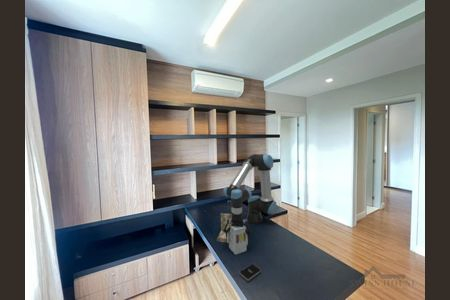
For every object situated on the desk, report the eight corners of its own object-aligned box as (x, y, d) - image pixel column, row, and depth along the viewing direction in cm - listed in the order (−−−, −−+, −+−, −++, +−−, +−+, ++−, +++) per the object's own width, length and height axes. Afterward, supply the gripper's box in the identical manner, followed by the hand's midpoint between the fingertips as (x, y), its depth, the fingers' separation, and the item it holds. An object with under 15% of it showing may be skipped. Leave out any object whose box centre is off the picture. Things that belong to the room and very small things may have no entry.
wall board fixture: (242, 232, 140) (242, 214, 139) (240, 243, 124) (239, 223, 124) (221, 230, 143) (221, 213, 143) (216, 241, 128) (216, 221, 127)
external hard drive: (239, 275, 94) (239, 272, 94) (252, 266, 101) (252, 263, 101) (247, 283, 89) (247, 279, 88) (261, 273, 95) (261, 269, 95)
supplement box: (235, 255, 111) (234, 230, 110) (228, 247, 119) (228, 224, 119) (247, 250, 115) (246, 226, 115) (239, 243, 123) (239, 221, 123)
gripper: (255, 211, 118) (255, 241, 118) (220, 209, 123) (221, 238, 123) (254, 215, 110) (255, 247, 111) (218, 213, 115) (219, 243, 116)
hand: (237, 242), depth 117 cm, fingers closed on supplement box, 13 cm apart
